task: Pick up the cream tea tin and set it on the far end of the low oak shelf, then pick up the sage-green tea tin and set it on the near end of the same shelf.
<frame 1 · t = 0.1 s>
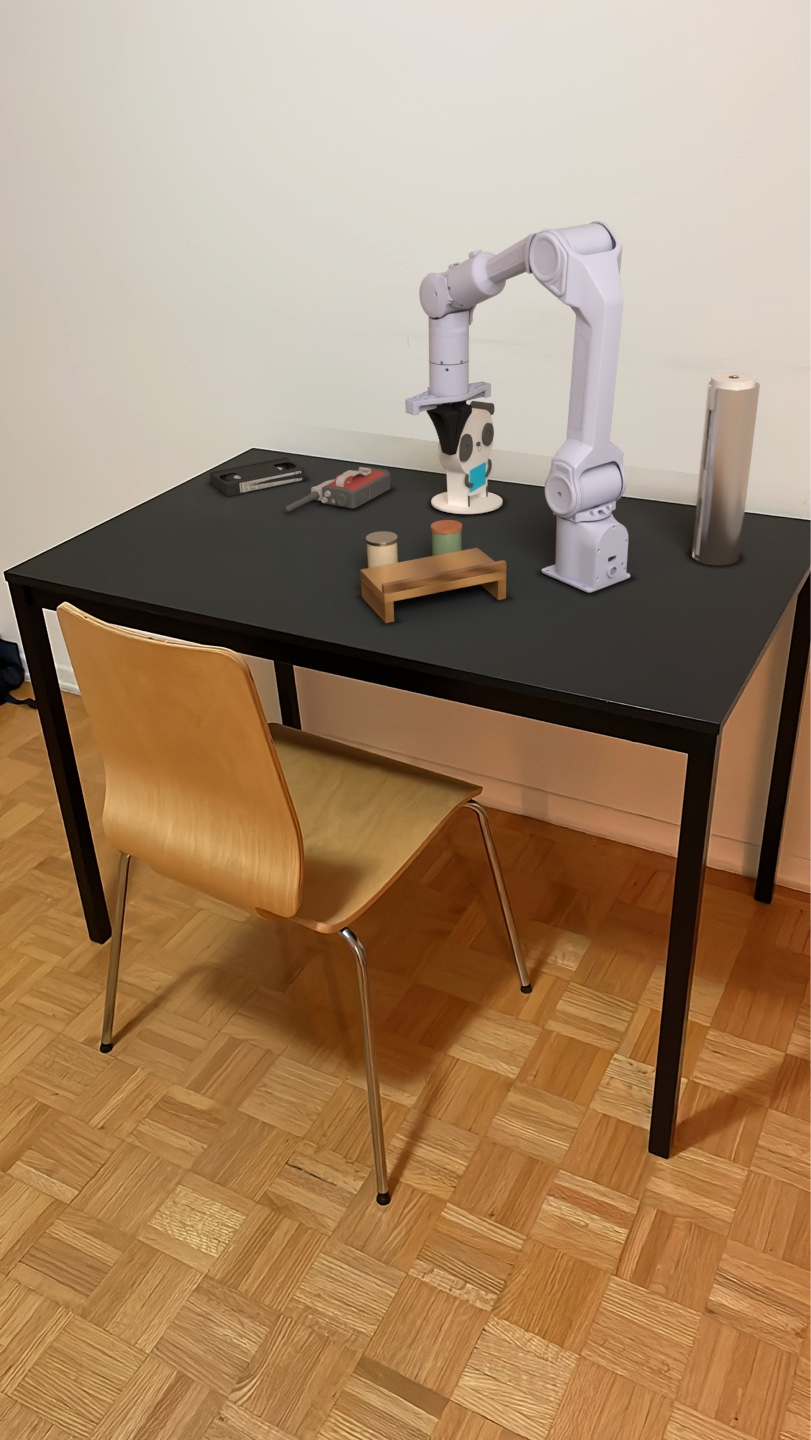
hand: (449, 453, 170), 11 cm above the table, tool pointing down, fingers closed
walkie-talkie: (341, 502, 184), on the table
silver metal cylinder: (714, 558, 159), on the table
shelf: (433, 598, 150), on the table
sage tin: (447, 569, 159), on the table
cream tin: (383, 581, 156), on the table
panda figurine: (465, 504, 181), on the table, touching gripper
vhs tape: (258, 483, 195), on the table
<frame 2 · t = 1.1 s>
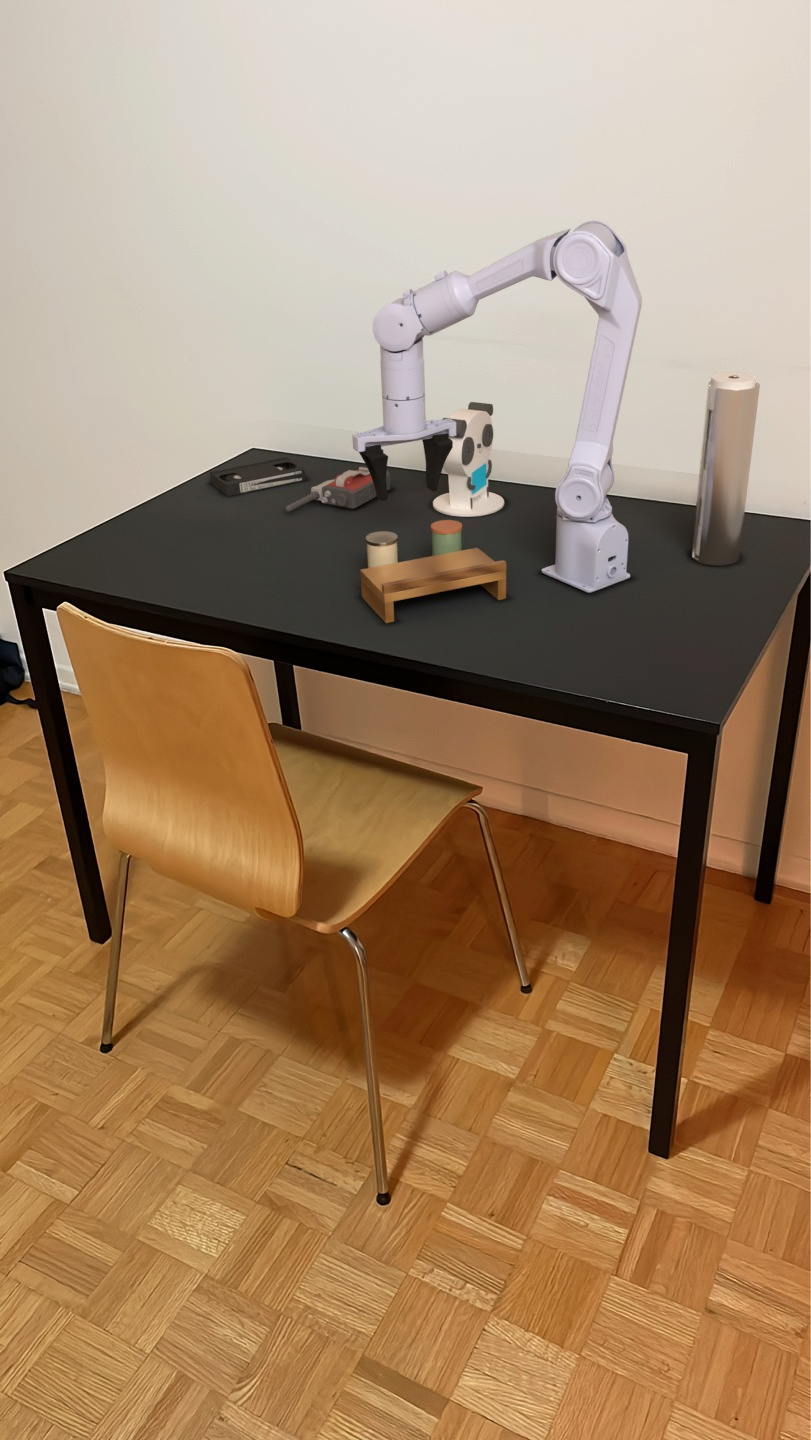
hand: (407, 493, 158), 10 cm above the table, tool pointing down, fingers open, 7 cm apart
panda figurine: (467, 505, 181), on the table
everything else where it was.
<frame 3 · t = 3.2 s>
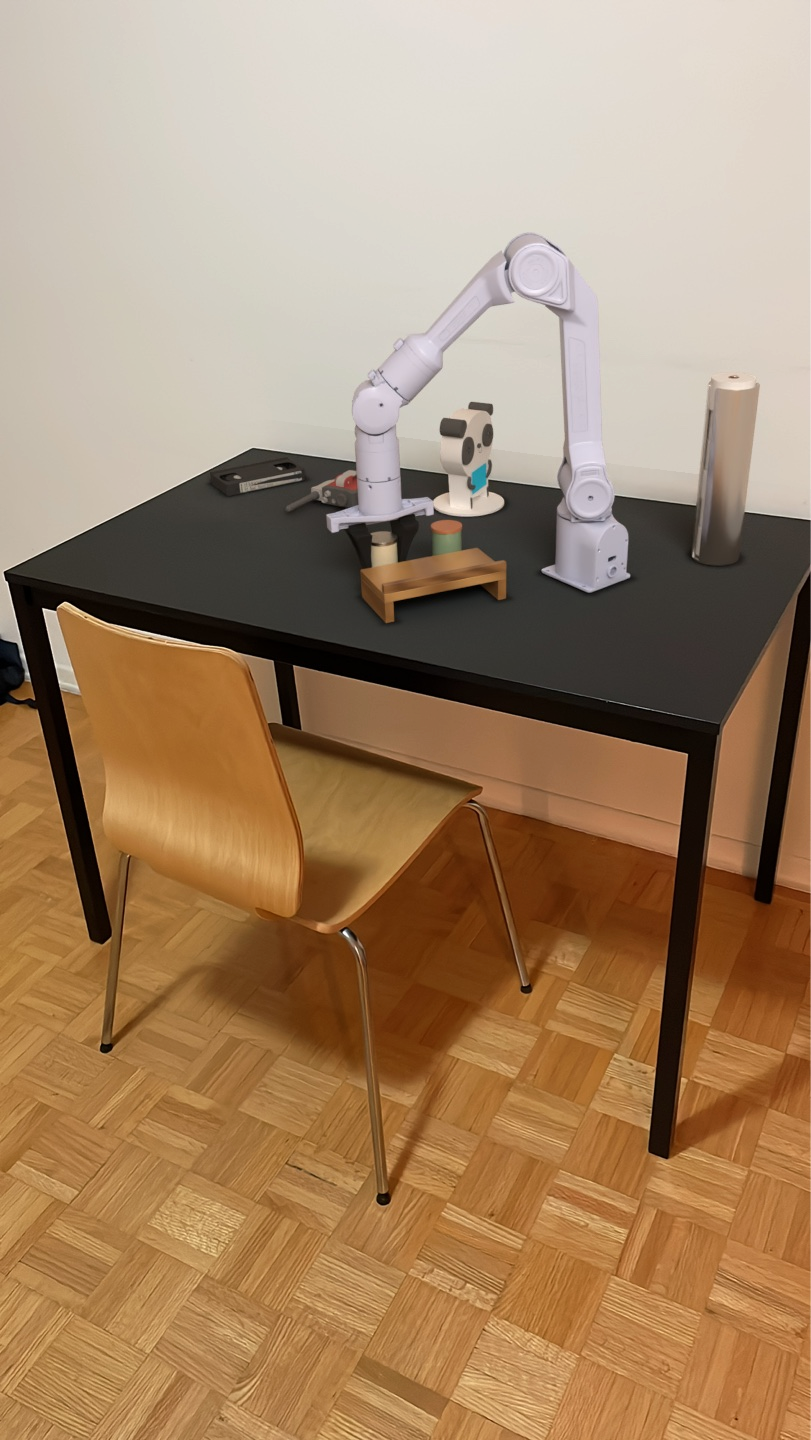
hand: (383, 572, 155), 1 cm above the table, tool pointing down, fingers closed on cream tin, 4 cm apart
cream tin: (383, 581, 156), on the table, touching gripper
everything else where it was.
when the fingers open (5 cm above the table, at t = 6.5 s): cream tin stays where it is, resting on shelf.
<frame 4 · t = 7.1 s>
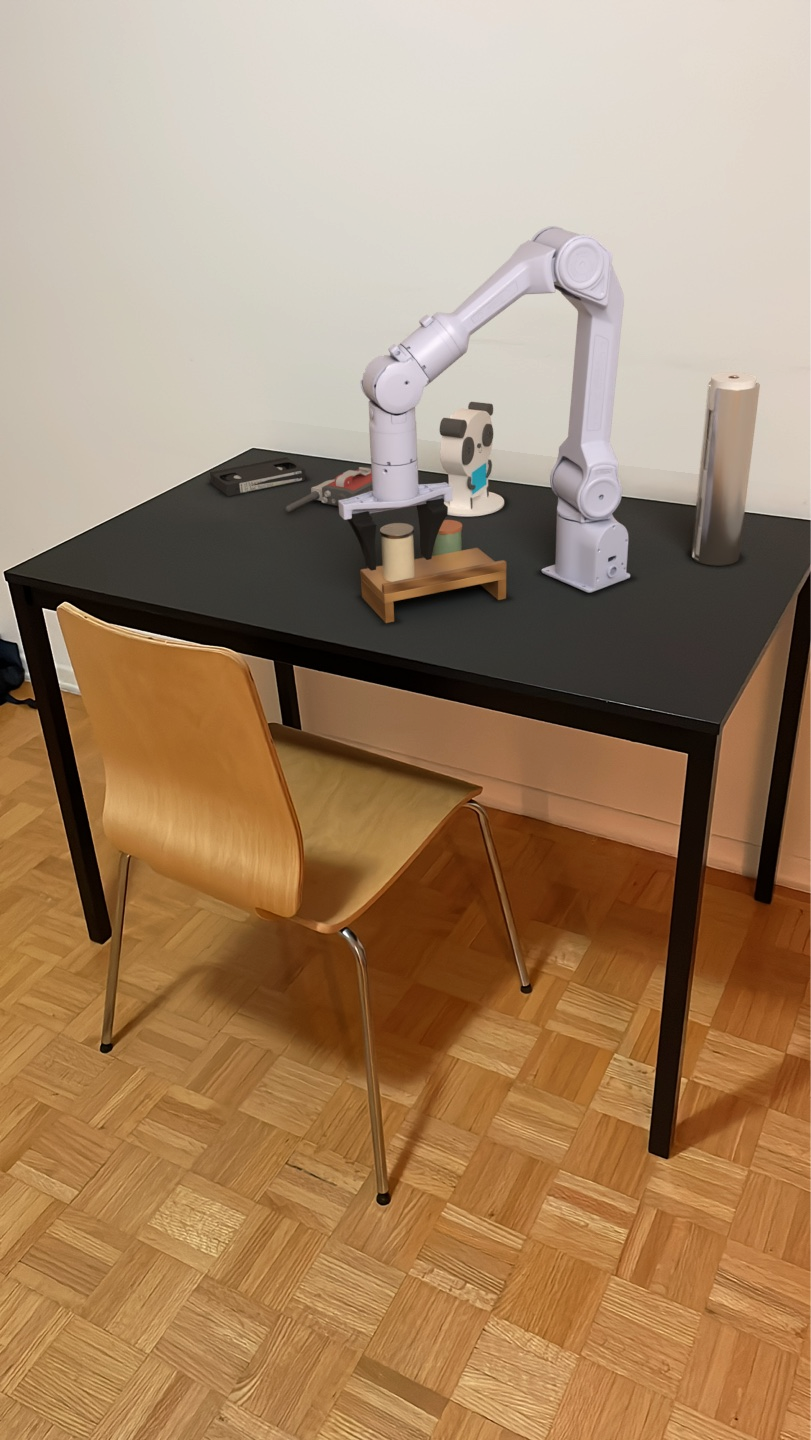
hand: (398, 562, 146), 6 cm above the table, tool pointing down, fingers open, 7 cm apart
cream tin: (398, 576, 147), point 4 cm above the table, touching shelf
everything else where it was.
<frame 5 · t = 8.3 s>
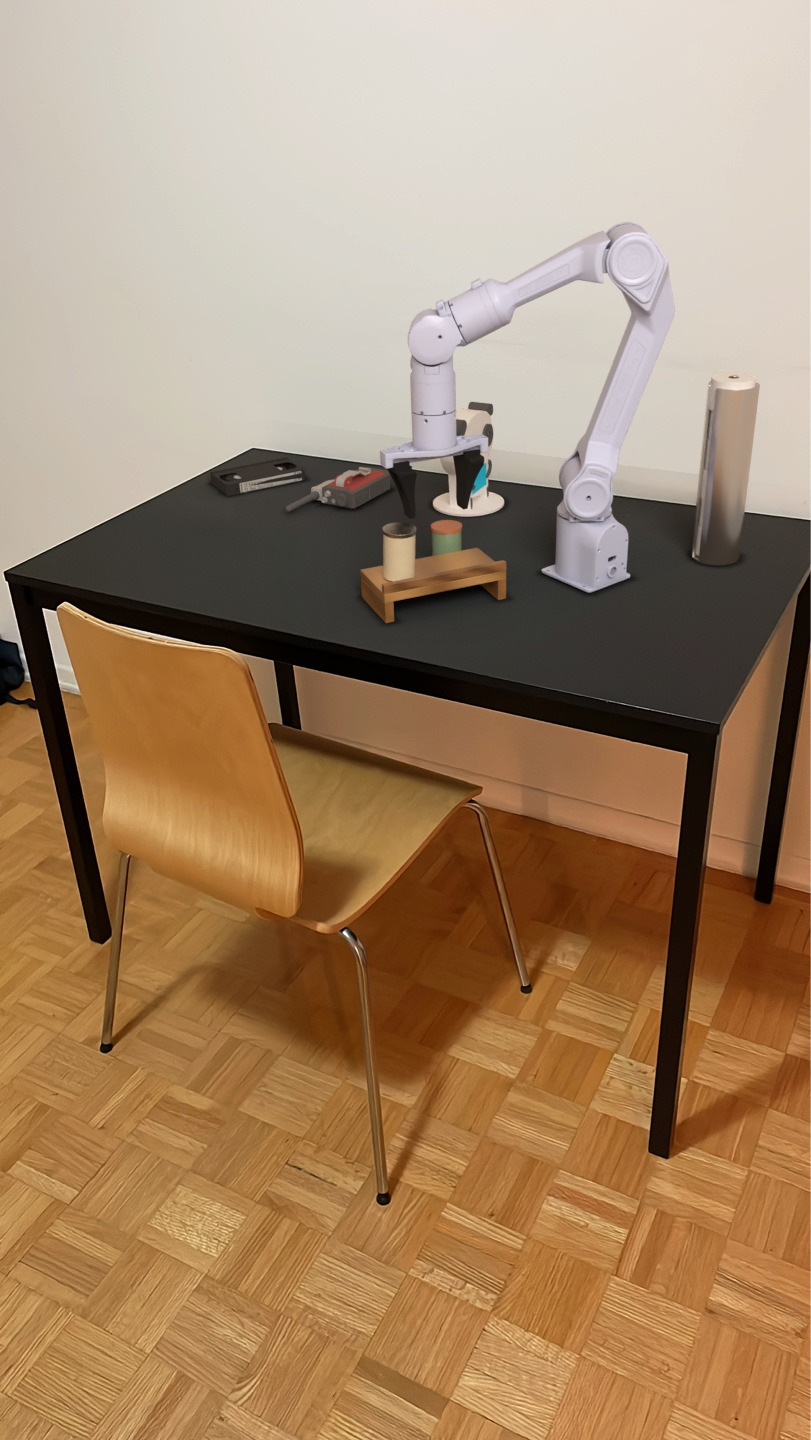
hand: (436, 511, 152), 9 cm above the table, tool pointing down, fingers open, 7 cm apart
nothing on the table moved.
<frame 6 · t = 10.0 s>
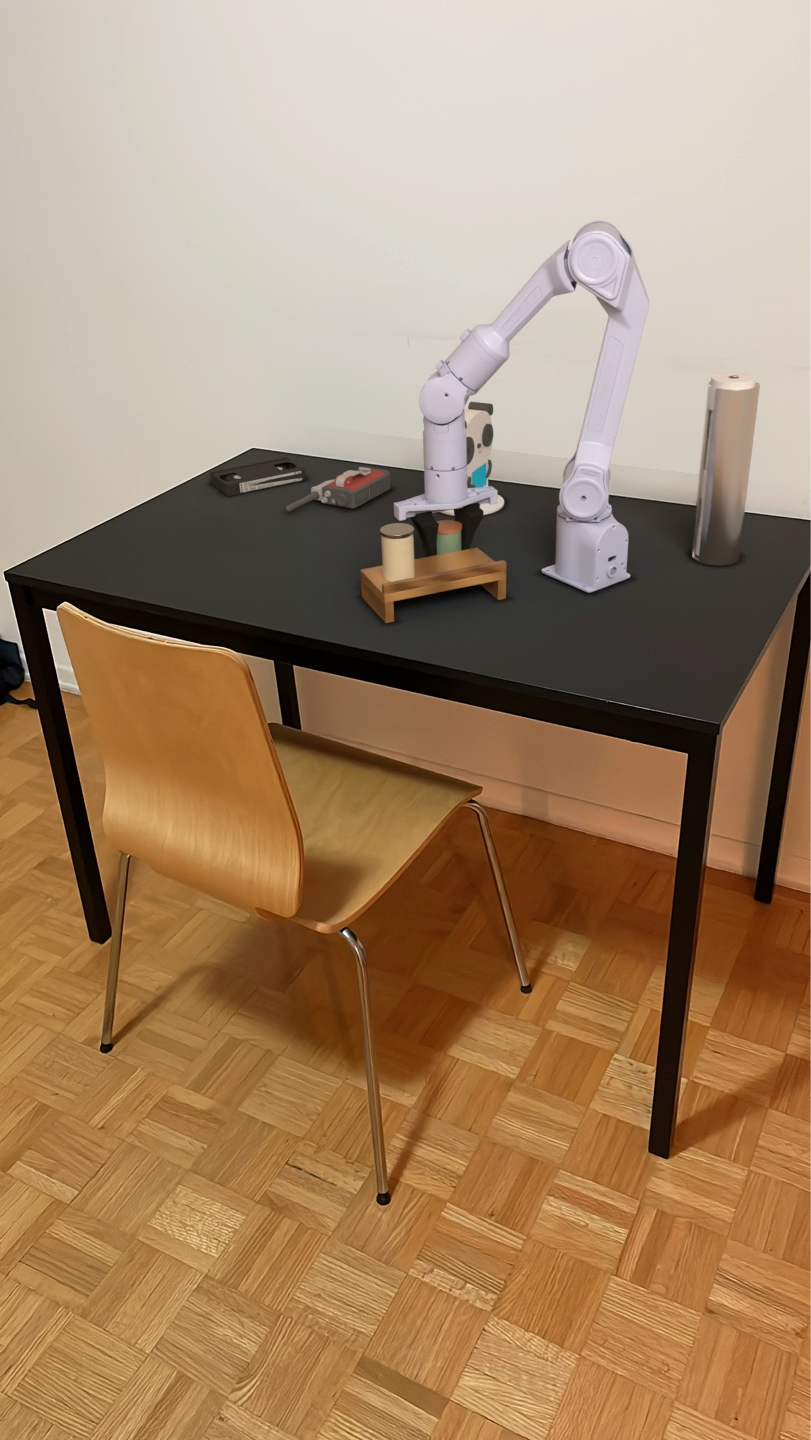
hand: (447, 560, 158), 1 cm above the table, tool pointing down, fingers closed on sage tin, 4 cm apart
sage tin: (447, 569, 159), on the table, touching gripper
everything else where it was.
when the fingers open (5 cm above the table, at t = 13.3 s): sage tin stays where it is, resting on shelf.
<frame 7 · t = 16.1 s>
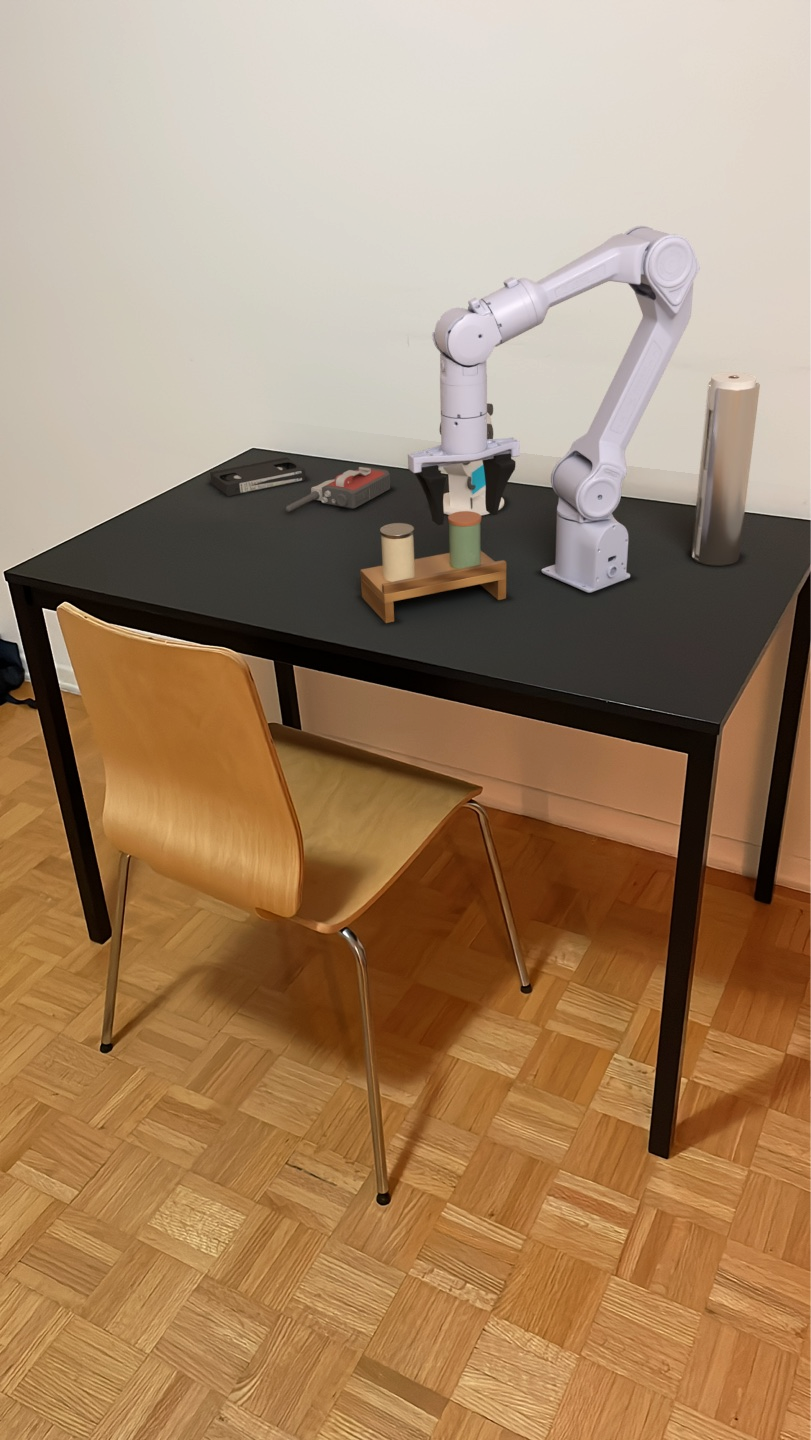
hand: (465, 517, 147), 10 cm above the table, tool pointing down, fingers open, 7 cm apart
sage tin: (465, 563, 150), point 4 cm above the table, touching shelf
everything else where it was.
at the end: cream tin inside the target area on the shelf (0.4 cm from its centre), point 4.0 cm above the shelf's base; sage tin inside the target area on the shelf (0.5 cm from its centre), point 4.0 cm above the shelf's base; sage tin tilted 0° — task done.
